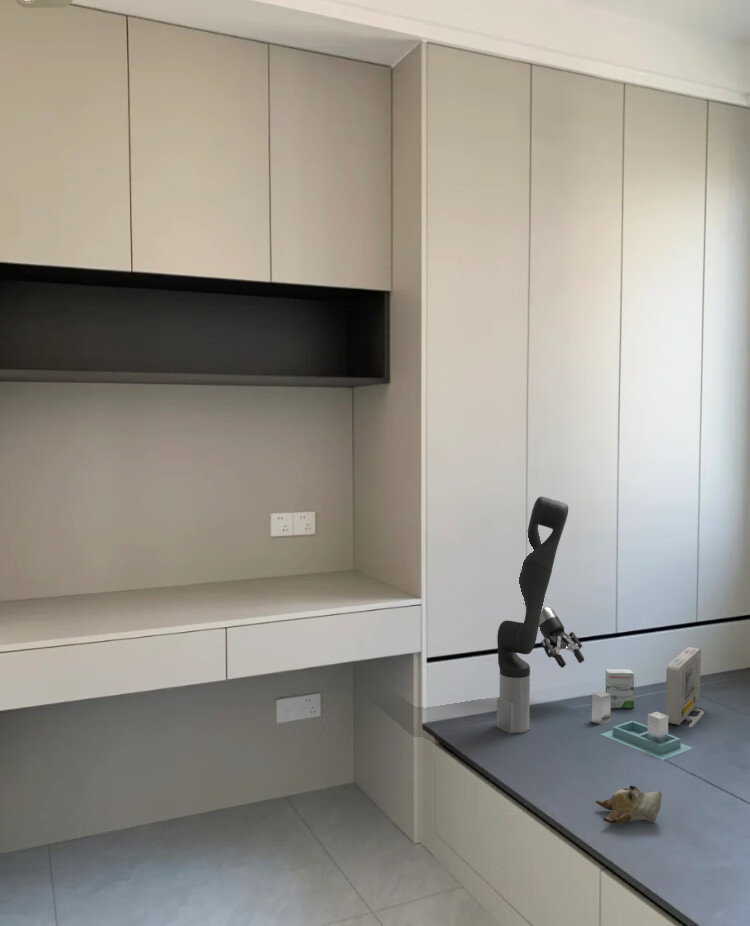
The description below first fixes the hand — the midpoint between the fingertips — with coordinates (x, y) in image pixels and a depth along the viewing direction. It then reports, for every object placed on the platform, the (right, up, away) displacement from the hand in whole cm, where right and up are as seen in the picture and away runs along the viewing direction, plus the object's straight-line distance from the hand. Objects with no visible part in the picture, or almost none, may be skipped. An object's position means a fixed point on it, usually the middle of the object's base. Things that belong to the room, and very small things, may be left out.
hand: (573, 664), depth 272 cm
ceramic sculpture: (-3, -21, -70) cm, 73 cm away
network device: (+34, -16, -6) cm, 38 cm away
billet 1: (+7, -16, -9) cm, 20 cm away
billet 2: (+17, -16, -31) cm, 39 cm away
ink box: (+17, -15, +5) cm, 23 cm away
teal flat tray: (+15, -17, -27) cm, 36 cm away
